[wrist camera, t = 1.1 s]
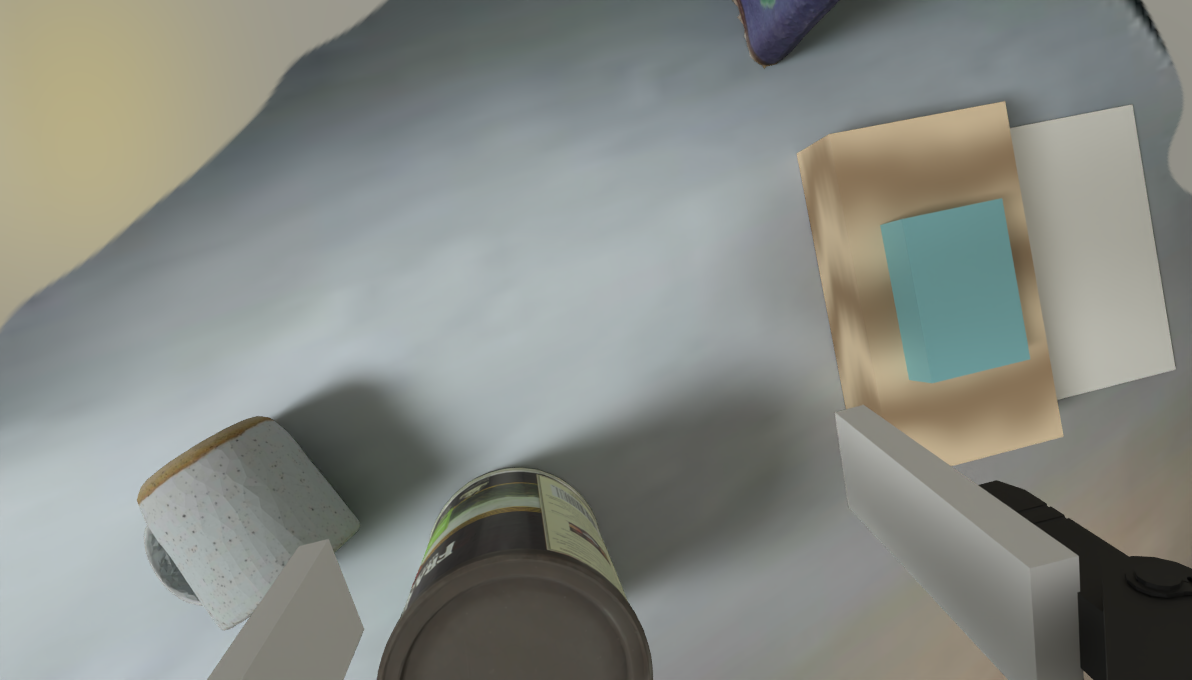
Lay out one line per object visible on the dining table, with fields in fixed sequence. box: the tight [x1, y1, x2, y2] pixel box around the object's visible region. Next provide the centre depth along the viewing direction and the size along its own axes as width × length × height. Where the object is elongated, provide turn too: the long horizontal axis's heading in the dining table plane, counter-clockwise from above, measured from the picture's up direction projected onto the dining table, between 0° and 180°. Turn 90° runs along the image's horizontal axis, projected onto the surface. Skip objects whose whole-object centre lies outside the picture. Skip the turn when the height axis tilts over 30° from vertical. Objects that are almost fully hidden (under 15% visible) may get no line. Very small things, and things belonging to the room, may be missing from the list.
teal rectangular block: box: [880, 198, 1030, 383], centre depth 35 cm, size 9×6×2 cm, turn 12°
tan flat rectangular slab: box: [797, 101, 1063, 466], centre depth 38 cm, size 20×11×4 cm, turn 12°
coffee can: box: [377, 468, 653, 680], centre depth 30 cm, size 10×10×14 cm
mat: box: [1010, 105, 1176, 400], centre depth 41 cm, size 18×12×1 cm, turn 12°
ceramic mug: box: [137, 416, 360, 630], centre depth 31 cm, size 11×8×8 cm
